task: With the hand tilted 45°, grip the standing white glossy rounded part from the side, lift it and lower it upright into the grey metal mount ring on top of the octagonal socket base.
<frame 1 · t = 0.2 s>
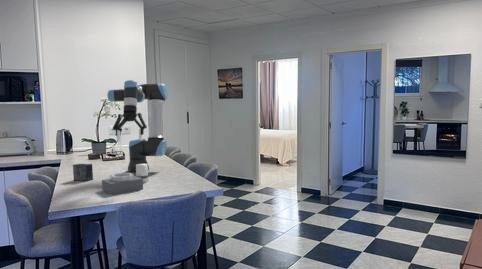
hand: (129, 140, 204), 27 cm above the table, tool pointing down, fingers open, 13 cm apart
white glossy rounded part: (142, 181, 216), on the table
small box: (83, 180, 225), on the table
octagonal socket base: (122, 189, 196), on the table
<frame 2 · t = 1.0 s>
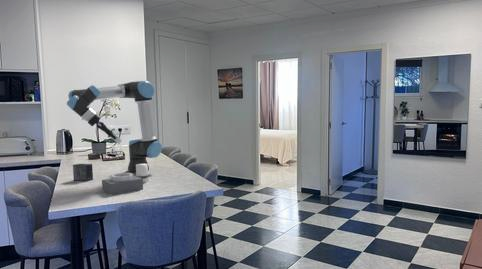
hand: (119, 141, 211), 26 cm above the table, tool tilted 45°, fingers open, 13 cm apart
nothing on the table moved.
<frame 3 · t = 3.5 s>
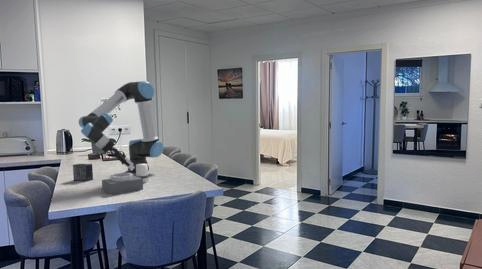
hand: (132, 167, 212), 10 cm above the table, tool tilted 45°, fingers open, 13 cm apart
nothing on the table moved.
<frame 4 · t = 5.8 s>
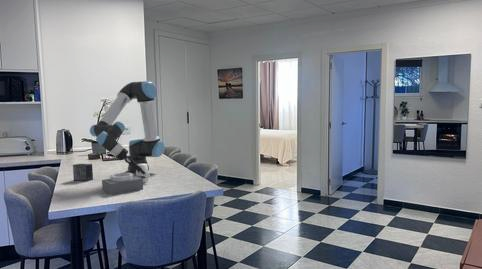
hand: (148, 175, 217), 4 cm above the table, tool tilted 45°, fingers closed on white glossy rounded part, 7 cm apart
white glossy rounded part: (142, 181, 216), on the table, touching gripper
everything else where it was.
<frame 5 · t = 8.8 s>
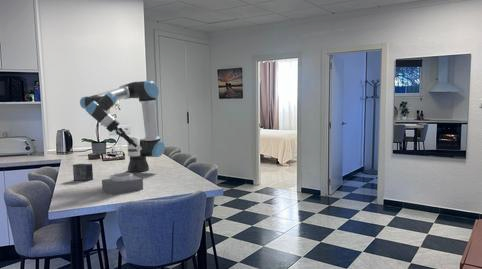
hand: (140, 149, 208), 21 cm above the table, tool tilted 45°, fingers closed on white glossy rounded part, 7 cm apart
white glossy rounded part: (134, 155, 207), point 18 cm above the table, touching gripper
everything else where it was.
when the fingers open (11 cm above the table, at t = 12.0 s): white glossy rounded part drops 1 cm, resting on octagonal socket base.
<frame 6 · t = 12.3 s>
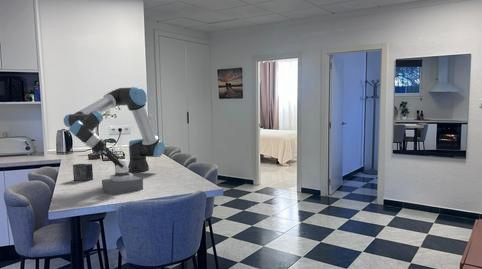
hand: (126, 168, 196), 12 cm above the table, tool tilted 45°, fingers open, 11 cm apart
white glossy rounded part: (122, 179, 196), point 6 cm above the table, touching octagonal socket base
everything else where it was.
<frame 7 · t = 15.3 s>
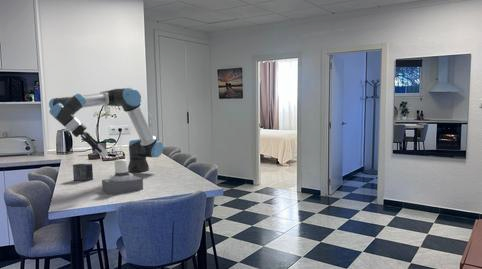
hand: (105, 154, 194), 20 cm above the table, tool tilted 40°, fingers open, 13 cm apart
nothing on the table moved.
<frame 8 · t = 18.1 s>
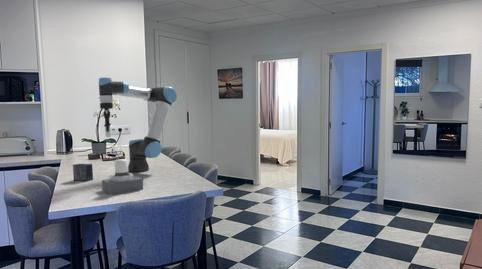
hand: (108, 136, 219), 29 cm above the table, tool pointing down, fingers open, 13 cm apart
nothing on the table moved.
at the end: white glossy rounded part 0.1 cm off-centre on the octagonal socket base, point 6.0 cm above the octagonal socket base's base; white glossy rounded part tilted 0°; the gripper is holding nothing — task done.
